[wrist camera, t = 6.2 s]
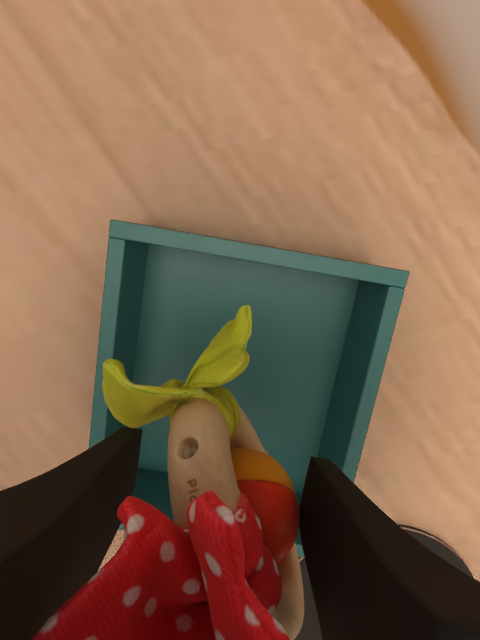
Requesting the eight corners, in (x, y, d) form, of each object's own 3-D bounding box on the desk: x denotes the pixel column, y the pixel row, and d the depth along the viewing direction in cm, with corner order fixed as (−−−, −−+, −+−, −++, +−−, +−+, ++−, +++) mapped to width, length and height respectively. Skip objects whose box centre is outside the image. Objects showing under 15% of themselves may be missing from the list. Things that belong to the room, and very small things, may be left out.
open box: (315, 498, 23) (333, 562, 18) (113, 466, 23) (80, 524, 18) (371, 264, 20) (410, 271, 15) (141, 224, 20) (109, 219, 15)
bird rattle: (299, 393, 18) (211, 241, 12) (496, 707, 9) (502, 671, 4) (186, 461, 18) (49, 340, 12) (275, 835, 9) (-54, 994, 4)
